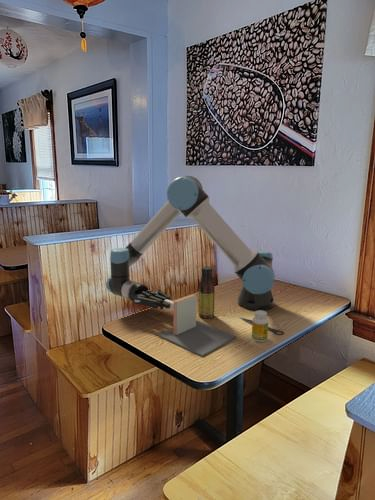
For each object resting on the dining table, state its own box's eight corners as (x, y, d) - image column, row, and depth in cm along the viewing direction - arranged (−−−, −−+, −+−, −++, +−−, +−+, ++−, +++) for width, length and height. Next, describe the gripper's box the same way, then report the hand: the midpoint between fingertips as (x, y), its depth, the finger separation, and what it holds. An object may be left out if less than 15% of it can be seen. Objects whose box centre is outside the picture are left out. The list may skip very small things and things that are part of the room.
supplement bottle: (254, 333, 129) (255, 308, 127) (269, 337, 127) (271, 311, 124) (249, 340, 124) (250, 313, 122) (264, 343, 122) (266, 316, 120)
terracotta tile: (173, 333, 127) (173, 301, 124) (192, 325, 134) (193, 294, 131) (176, 335, 126) (177, 302, 123) (196, 326, 133) (196, 295, 130)
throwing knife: (279, 337, 127) (279, 335, 127) (234, 319, 142) (234, 318, 142) (286, 333, 130) (286, 331, 130) (242, 316, 145) (242, 315, 144)
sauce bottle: (203, 311, 148) (205, 264, 144) (217, 315, 145) (218, 266, 140) (194, 316, 143) (195, 267, 138) (208, 320, 139) (209, 270, 135)
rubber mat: (158, 336, 126) (158, 334, 126) (193, 320, 139) (193, 319, 139) (202, 356, 113) (202, 355, 113) (236, 337, 126) (236, 336, 126)
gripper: (148, 296, 151) (190, 312, 135) (122, 305, 141) (164, 323, 126) (148, 279, 149) (190, 293, 133) (121, 286, 140) (164, 302, 124)
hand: (178, 307), depth 129 cm, fingers closed
